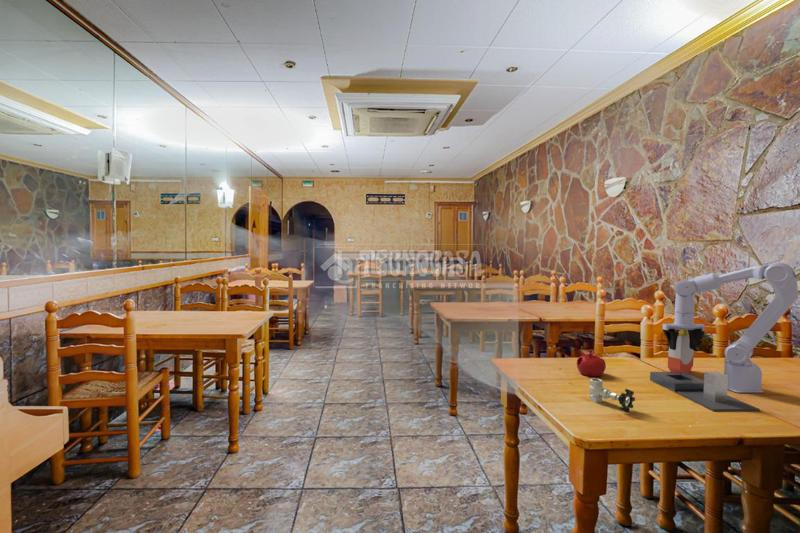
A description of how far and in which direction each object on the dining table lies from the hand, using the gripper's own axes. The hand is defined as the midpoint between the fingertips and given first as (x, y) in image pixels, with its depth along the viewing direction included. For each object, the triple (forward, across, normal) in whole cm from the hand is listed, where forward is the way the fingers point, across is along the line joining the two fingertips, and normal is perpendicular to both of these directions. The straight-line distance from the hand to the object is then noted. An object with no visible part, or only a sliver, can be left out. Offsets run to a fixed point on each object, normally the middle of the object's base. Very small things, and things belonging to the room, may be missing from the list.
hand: (682, 349), depth 143 cm
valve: (+11, +42, +25) cm, 50 cm away
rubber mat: (+10, +7, +23) cm, 26 cm away
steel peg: (+10, +7, +22) cm, 26 cm away
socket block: (+10, +8, +9) cm, 16 cm away
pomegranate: (+11, +32, -4) cm, 34 cm away
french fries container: (+11, -4, -6) cm, 13 cm away
